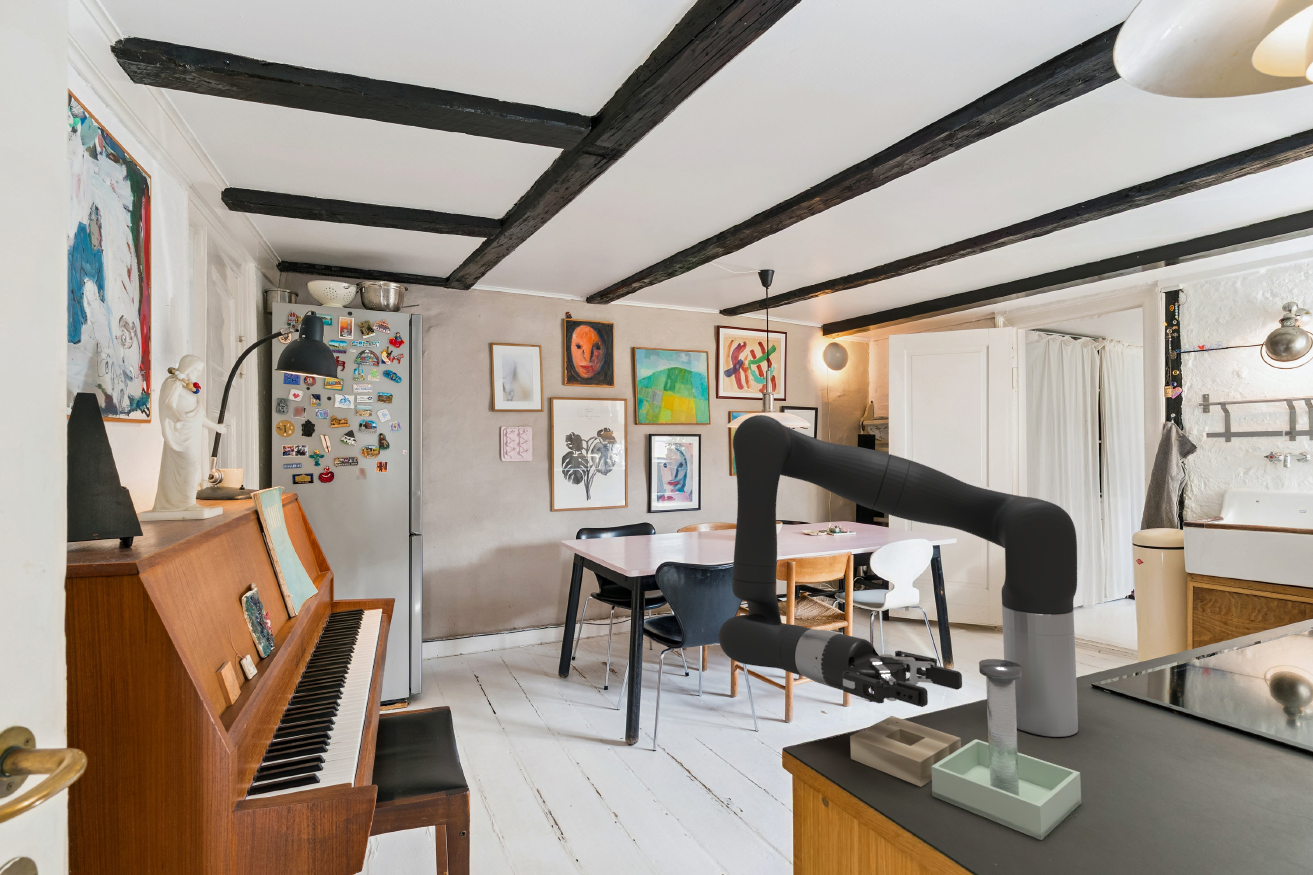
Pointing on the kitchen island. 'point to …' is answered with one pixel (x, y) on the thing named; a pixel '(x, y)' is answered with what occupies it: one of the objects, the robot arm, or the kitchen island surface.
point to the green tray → (1033, 812)
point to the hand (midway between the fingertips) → (944, 689)
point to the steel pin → (1002, 722)
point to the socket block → (902, 749)
